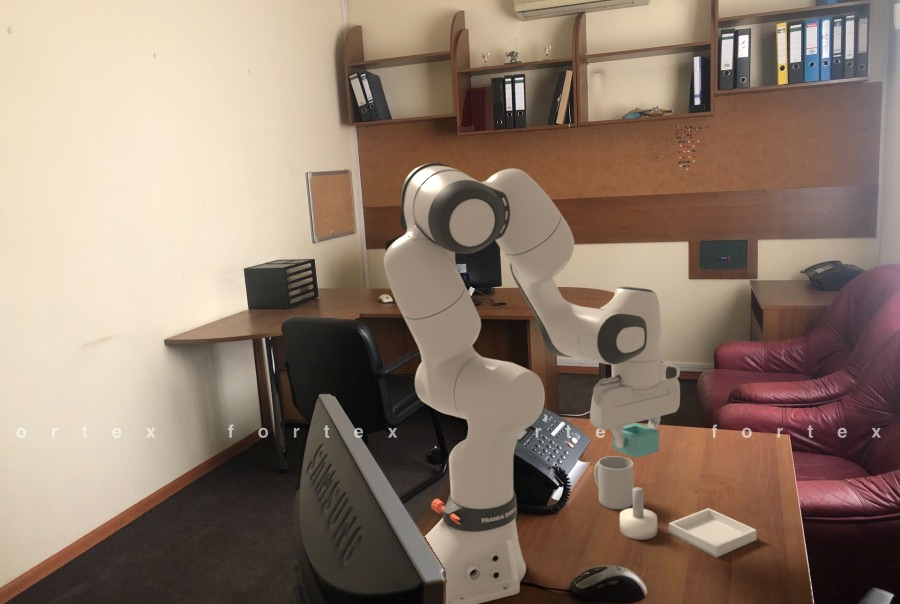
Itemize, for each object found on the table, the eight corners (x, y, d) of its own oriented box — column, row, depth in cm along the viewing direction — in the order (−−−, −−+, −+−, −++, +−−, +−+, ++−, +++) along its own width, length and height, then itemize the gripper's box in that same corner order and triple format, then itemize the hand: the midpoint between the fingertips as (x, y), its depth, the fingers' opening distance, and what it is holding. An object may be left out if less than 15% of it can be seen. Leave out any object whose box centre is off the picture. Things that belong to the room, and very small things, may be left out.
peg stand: (638, 543, 130) (637, 500, 128) (612, 528, 136) (611, 487, 134) (665, 532, 133) (664, 491, 132) (638, 518, 139) (638, 478, 138)
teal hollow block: (636, 458, 128) (636, 437, 127) (607, 446, 134) (607, 426, 134) (659, 451, 131) (659, 431, 130) (629, 440, 137) (629, 420, 137)
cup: (615, 513, 142) (614, 472, 141) (583, 496, 151) (582, 457, 149) (641, 504, 145) (640, 463, 144) (608, 487, 154) (607, 449, 153)
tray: (715, 557, 123) (715, 547, 123) (668, 532, 133) (668, 523, 133) (756, 539, 129) (756, 529, 128) (708, 517, 138) (708, 508, 138)
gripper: (606, 384, 122) (606, 459, 124) (686, 367, 132) (685, 436, 134) (582, 377, 127) (582, 449, 129) (660, 361, 137) (660, 428, 139)
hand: (635, 442), depth 132 cm, fingers closed on teal hollow block, 6 cm apart
